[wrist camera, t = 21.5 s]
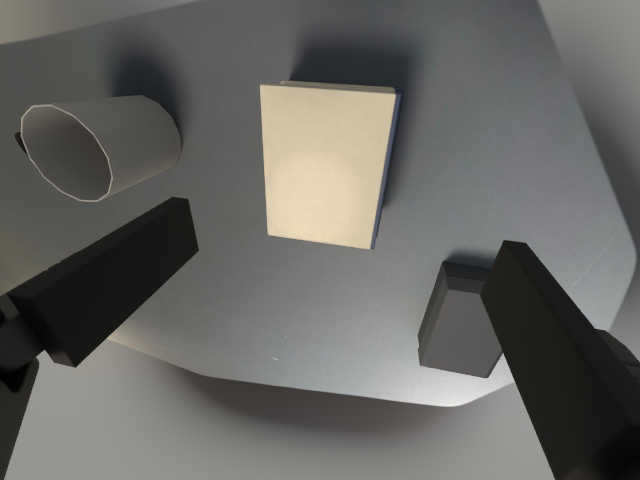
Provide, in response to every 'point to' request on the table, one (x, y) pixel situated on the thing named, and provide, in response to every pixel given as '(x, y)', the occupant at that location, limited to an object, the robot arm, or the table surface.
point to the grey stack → (458, 324)
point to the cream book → (326, 161)
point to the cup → (100, 144)
